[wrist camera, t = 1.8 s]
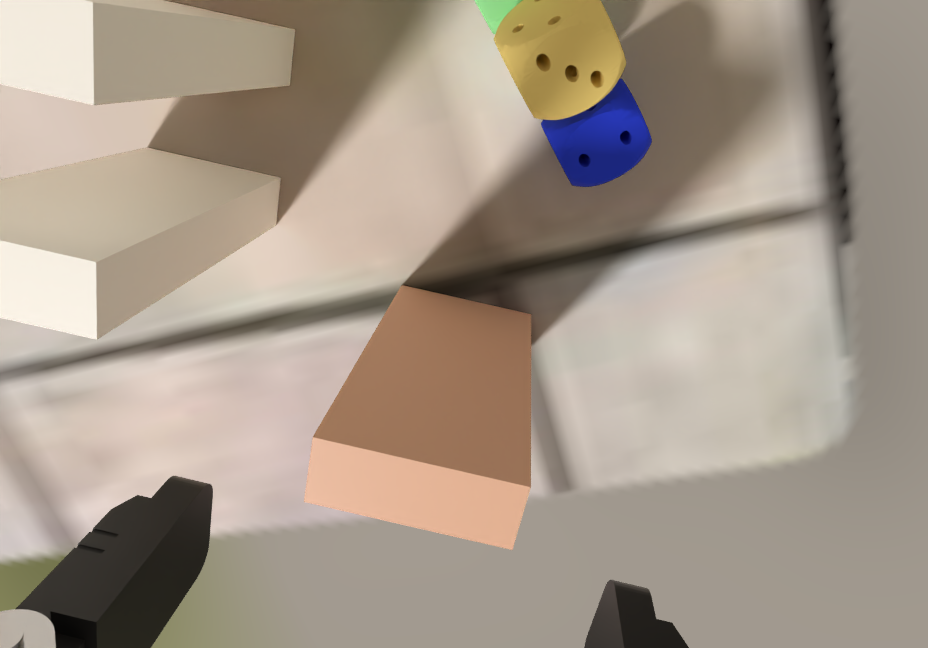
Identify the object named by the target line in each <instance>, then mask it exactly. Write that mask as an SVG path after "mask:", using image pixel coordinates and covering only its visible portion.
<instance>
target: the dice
mask: <svg viewBox="0 0 928 648" xmlns="http://www.w3.org/2000/svg"><path fill="white" fill-rule="evenodd" d="M475 2H476V4H477V6H478V7H479V9H480V11H481V13H482V15H483V17H484V19H485V20H486V22H487V24H488V26H489V28H490V29H491V31H492V33H493V34H495V37H494V41H495V43H496V46H497V48H498V50H499V52H500V54H501V56H502V58H503V60H504V62H505V64H506V66H507V68H508V70H509V72H510V74H511V76H512V78H513V80H514V82H515V84H516V86H517V87H518V89H519V91H520V93H521V95H522V97H523V99H524V101H525V102H526V104H527V106H528V108H529V110H530V111H531V113H532V115H533V116H534V118H538V119H543V121H542V123H541V125H542V128H543V130H544V132H545V134H546V136H547V138H548V140H549V142H550V144H551V146H552V148H553V150H554V152H555V154H556V156H557V158H558V160H559V162H560V164H561V166H562V168H563V170H564V172H565V174H566V175H567V177H568V179H569V181H570V183H571V184H572V185H573V186H580V187H591V186H596V185H600V184H603V183H606V182H609V181H611V180H613V179H615V178H617V177H619V176H621V175H623V174H624V173H626V172H627V171H629V170H630V169H632V168H633V167H634V166H635V165H636V164H637V163H638V162H639V161H640V160H641V159H642V158H643V157H644V155H645V154H646V152H647V151H648V149H649V147H650V145H651V143H652V139H651V136H650V133H649V130H648V127H647V125H646V123H645V120H644V118H643V116H642V114H641V112H640V109H639V107H638V105H637V103H636V101H635V100H634V98H633V96H632V94H631V92H630V90H629V89H628V87H627V85H626V84H625V82H624V81H623V80H622V79H621V78H620V77H621V75H622V73H623V71H624V68H625V66H626V59H625V56H624V52H623V49H622V47H621V44H620V41H619V39H618V36H617V34H616V32H615V29H614V27H613V25H612V23H611V20H610V18H609V16H608V14H607V12H606V10H605V8H604V6H603V4H602V2H601V1H600V0H475Z"/></svg>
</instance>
